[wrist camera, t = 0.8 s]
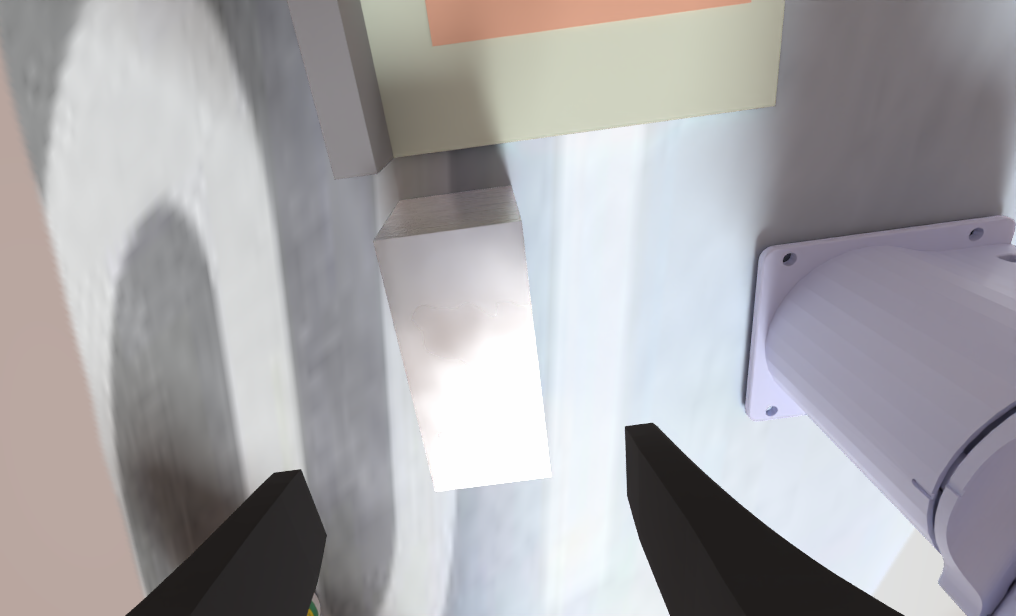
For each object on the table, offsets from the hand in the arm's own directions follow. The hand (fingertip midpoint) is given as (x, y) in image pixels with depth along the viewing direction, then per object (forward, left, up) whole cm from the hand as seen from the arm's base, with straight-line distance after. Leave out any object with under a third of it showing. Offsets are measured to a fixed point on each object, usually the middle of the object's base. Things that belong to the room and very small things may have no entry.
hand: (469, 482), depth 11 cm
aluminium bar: (0, 0, -10) cm, 10 cm away
